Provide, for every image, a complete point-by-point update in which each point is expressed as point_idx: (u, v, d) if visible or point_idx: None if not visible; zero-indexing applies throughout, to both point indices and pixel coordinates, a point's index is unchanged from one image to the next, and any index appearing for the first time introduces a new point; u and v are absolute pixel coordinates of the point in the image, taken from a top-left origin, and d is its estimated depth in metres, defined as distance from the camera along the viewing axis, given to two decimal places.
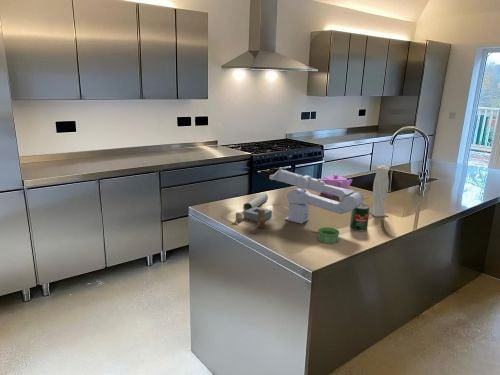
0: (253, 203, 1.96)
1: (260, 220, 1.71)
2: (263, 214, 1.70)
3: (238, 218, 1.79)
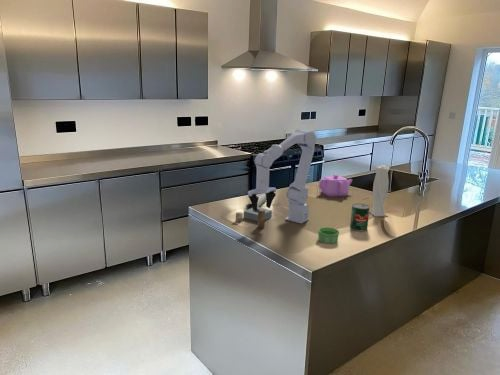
0: None
1: (260, 220, 1.71)
2: (263, 214, 1.70)
3: (238, 218, 1.79)
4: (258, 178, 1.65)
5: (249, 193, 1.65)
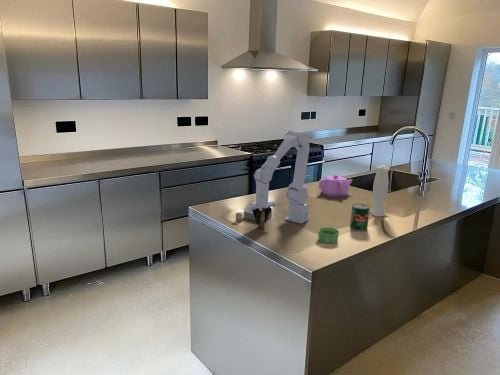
0: None
1: (260, 220, 1.71)
2: (263, 214, 1.70)
3: (238, 218, 1.79)
4: (258, 193, 1.67)
5: (249, 208, 1.67)
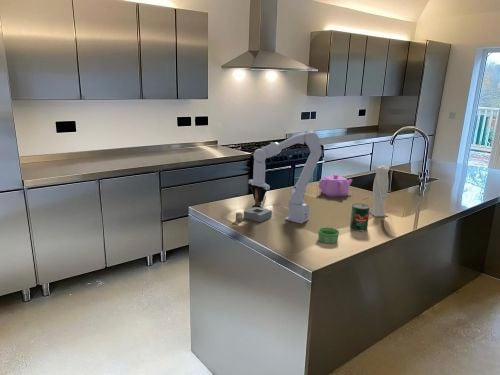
0: None
1: (255, 197, 1.83)
2: (256, 192, 1.81)
3: (238, 218, 1.79)
4: (253, 171, 1.79)
5: None
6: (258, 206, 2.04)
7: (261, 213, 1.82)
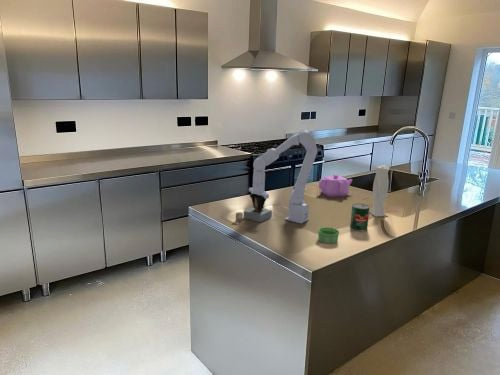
0: None
1: None
2: (255, 200, 1.83)
3: (238, 218, 1.79)
4: (253, 180, 1.81)
5: None
6: None
7: (261, 213, 1.82)
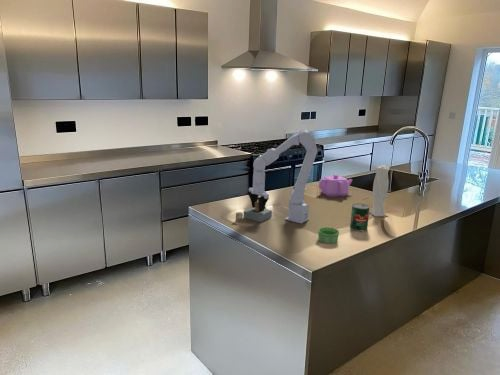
0: None
1: None
2: (255, 205, 1.84)
3: (238, 218, 1.79)
4: (253, 180, 1.81)
5: None
6: None
7: (261, 213, 1.82)
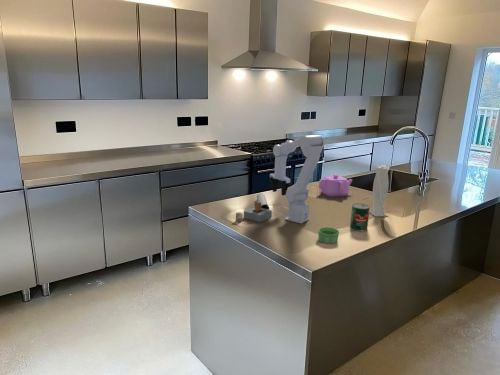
0: (267, 204, 1.95)
1: None
2: (255, 205, 1.84)
3: (238, 218, 1.79)
4: None
5: None
6: (261, 206, 2.04)
7: (261, 213, 1.82)
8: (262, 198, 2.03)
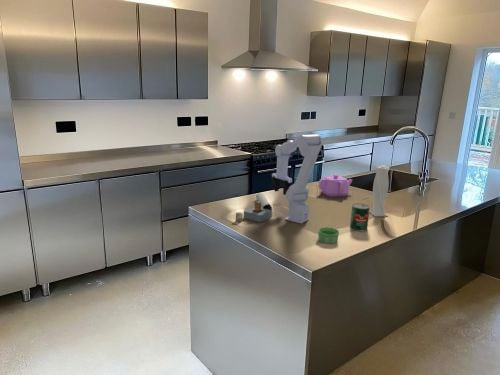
0: (269, 204, 1.96)
1: None
2: (255, 205, 1.84)
3: (238, 218, 1.79)
4: None
5: None
6: (262, 206, 2.04)
7: (261, 213, 1.82)
8: (263, 198, 2.03)
